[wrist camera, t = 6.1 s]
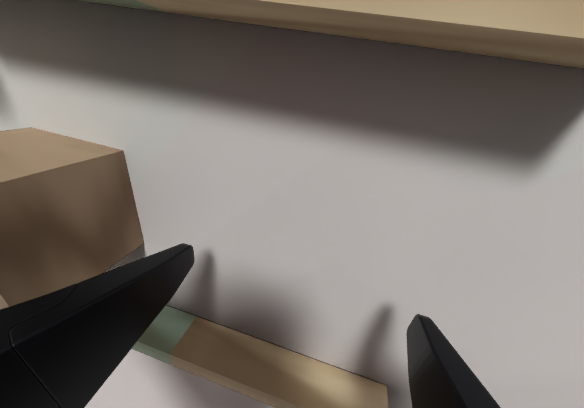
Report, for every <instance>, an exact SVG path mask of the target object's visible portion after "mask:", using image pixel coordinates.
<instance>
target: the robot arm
mask: <svg viewBox="0 0 584 408" xmlns="http://www.w3.org/2000/svg"><path fill="white" fill-rule="evenodd" d="M193 264H194V251H193V247H192V246H191V245H188V244H184V243H183V244H179V245H177V246H174V247H172V248H169V249H166V250H164V251H161V252H158V253H156V254H153V255H150V256H148V257H145V258H142V259H140V260H137V261H134V262H132V263H129V264H126V265H124V266H121V267H118V268H116V269H113V270H110V271H108V272H105V273H102V274H100V275H97V276H94V277H92V278H89V279H86V280H84V281H81V282H79V283H76V284H73V285H70V286H68V287H65V288H62V289H60V290H57V291H54V292H51V293H49V294H46V295H43V296H40V297H37V298H34V299H31V300H28V301H25V302H22V303H19V304H16V305H13V306H10V307H7V308H4V309H1V310H0V408H84V407H85V406H86V405H87V403H88V402H89V401H90V400H91V398H92V397H93V396H94V395H95V393H96V392H97V391H98V390H99V388H100V387H101V386H102V385H103V383H104V382H105V381H106V380H107V378H108V377H109V376H110V375H111V373H112V372H113V371H114V370H115V368H116V367H117V366H118V365H119V363H120V362H121V361H122V360H123V358H124V357H125V356H126V355H127V353H128V352H129V351H130V350H131V348H132V347H133V346H134V345H135V343H136V342H137V341H138V340H139V338H140V337H141V336H142V335H143V333H144V332H145V331H146V329H147V328H148V327H149V326H150V324H151V323H152V322H153V321H154V319H155V318H156V317H157V316H158V314H159V313H160V312H161V311H162V309H163V308H164V307H165V306H166V304H167V303H168V302H169V301H170V299H171V298H172V297H173V295H174V294H175V292H176V291H177V289H178V288H179V286H180V285H181V283H182V282H183V280H184V278H185V277H186V275H187V274H188V272H189V271H190V269H191V268H192V266H193ZM407 353H408V375H409V385H410V393H411V400H412V406H413V408H500V406H499V405H498V404H497V402H496V401H495V400H494V399H493V397H492V396H491V395H490V393H489V392H488V391H487V390H486V388H485V387H484V386H483V385H482V383H481V382H480V381H479V379H478V378H477V377H476V376H475V374H474V373H473V372H472V371H471V369H470V368H469V367H468V365H467V364H466V363H465V362H464V360H463V359H462V358H461V357H460V355H459V354H458V353H457V351H456V350H455V349H454V348H453V346H452V345H451V344H450V343H449V341H448V340H447V339H446V337H445V336H444V335H443V334H442V332H441V331H440V330H439V329H438V327H437V326H436V325H435V323H434V322H433V321H432V320H431V319H430V318H429V317H426V316H423V315H420V314H417V315H416V316H415V317H414V319H413V320H412V322H411V323H410V325H409V327H408V329H407Z"/></svg>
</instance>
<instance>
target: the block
mask: <svg viewBox="0 0 584 408" xmlns="http://www.w3.org/2000/svg"><path fill="white" fill-rule="evenodd" d="M143 243H144V240H143V235H142V231H141V226H140V222H139V218H138V213H137V209H136V204H135V200H134V195H133V191H132V187H131V182H130V178H129V173H128V169H127V164H126V160H125V156H124V151H123V150H119V149H115V148H111V147H107V146H103V145H99V144H95V143H91V142H87V141H83V140H79V139H75V138H71V137H67V136H63V135H59V134H55V133H51V132H47V131H43V130H39V129H35V128H23V129H15V130H6V131H0V310H1V309H4V308H7V307H10V306H13V305H16V304H19V303H22V302H25V301H28V300H31V299H34V298H37V297H40V296H43V295H46V294H49V293H51V292H54V291H57V290H60V289H62V288H65V287H68V286H70V285H73V284H76V283H79V282H81V281H84V280H86V279H89V278H92V277H94V276H97V275H100V274H102V273H103V272H105V271H106V270H107V269H109V268H110V267H111V266H113V265H114V264H116V263H117V262H118V261H120V260H121V259H123V258H124V257H125V256H127V255H128V254H130V253H131V252H132V251H134V250H135V249H137V248H138V247H139V246H141V245H142V244H143Z"/></svg>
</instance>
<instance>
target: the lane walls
mask: <svg viewBox="0 0 584 408" xmlns="http://www.w3.org/2000/svg"><path fill="white" fill-rule="evenodd" d="M78 1H86V2H93V3H100V4H108V5H115V6H123V7H130V8H138V9H145V10H153V11H160V12H167V13H175V14H182V15H190V16H197V17H205V18H212V19H220V20H227V21H234V22H242V23H249V24H257V25H264V26H272V27H279V28H286V29H294V30H301V31H309V32H316V33H324V34H331V35H339V36H346V37H353V38H361V39H368V40H376V41H383V42H391V43H398V44H406V45H413V46H420V47H428V48H435V49H443V50H450V51H458V52H465V53H473V54H480V55H487V56H495V57H502V58H510V59H517V60H525V61H532V62H540V63H547V64H554V65H562V66H569V67H577V68H584V0H78ZM131 349H134V350H136V351H139V352H141V353H144V354H146V355H149V356H151V357H153V358H156V359H158V360H161V361H163V362H166V363H168V364H171V365H173V366H175V367H178V368H180V369H183V370H185V371H188V372H190V373H192V374H195V375H197V376H200V377H202V378H205V379H207V380H210V381H212V382H214V383H217V384H219V385H222V386H224V387H227V388H229V389H232V390H234V391H236V392H239V393H241V394H244V395H246V396H249V397H251V398H254V399H256V400H258V401H261V402H263V403H266V404H268V405H271V406H273V407H276V408H389V407H388V396H387V386H386V385H383V384H380V383H378V382H375V381H372V380H369V379H367V378H364V377H361V376H358V375H356V374H353V373H350V372H347V371H345V370H342V369H339V368H337V367H334V366H331V365H328V364H326V363H323V362H320V361H317V360H315V359H312V358H309V357H306V356H304V355H301V354H298V353H295V352H293V351H290V350H287V349H284V348H282V347H279V346H276V345H273V344H271V343H268V342H265V341H262V340H260V339H257V338H254V337H251V336H249V335H246V334H243V333H240V332H238V331H235V330H232V329H230V328H227V327H224V326H221V325H219V324H216V323H213V322H210V321H208V320H205V319H202V318H199V317H197V316H194V315H191V314H188V313H186V312H183V311H180V310H177V309H175V308H172V307H169V306H165V307H164V308H163V309H162V311H161V312H160V313H159V314H158V316H157V317H156V318H155V319H154V321H153V322H152V323H151V324H150V326H149V327H148V328H147V329H146V331H145V332H144V333H143V335H142V336H141V337H140V338H139V340H138V341H137V342H136V343H135V345H134V346H133V347H132V348H131Z"/></svg>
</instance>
